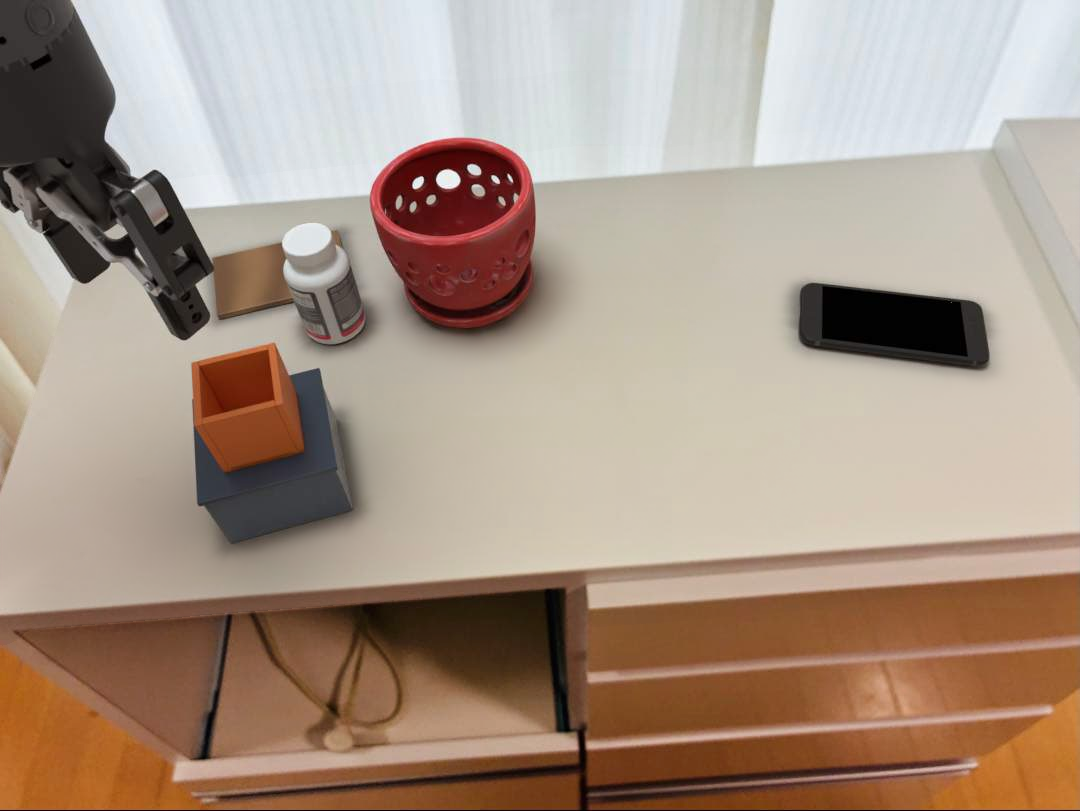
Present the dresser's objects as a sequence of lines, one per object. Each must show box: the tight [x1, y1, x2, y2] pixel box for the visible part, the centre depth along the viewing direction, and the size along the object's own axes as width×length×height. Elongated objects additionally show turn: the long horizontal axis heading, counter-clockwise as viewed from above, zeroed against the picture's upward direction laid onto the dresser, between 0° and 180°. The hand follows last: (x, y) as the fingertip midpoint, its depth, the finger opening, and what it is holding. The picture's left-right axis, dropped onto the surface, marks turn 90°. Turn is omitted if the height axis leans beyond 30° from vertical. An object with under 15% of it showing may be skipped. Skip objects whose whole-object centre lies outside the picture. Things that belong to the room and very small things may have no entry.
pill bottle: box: [281, 222, 367, 345], centre depth 69 cm, size 5×5×10 cm
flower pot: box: [369, 137, 537, 329], centre depth 70 cm, size 13×13×12 cm
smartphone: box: [798, 282, 991, 367], centre depth 69 cm, size 7×15×1 cm, turn 78°
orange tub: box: [190, 342, 306, 473], centre depth 56 cm, size 6×6×6 cm
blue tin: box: [191, 367, 354, 544], centre depth 61 cm, size 9×9×6 cm
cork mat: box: [211, 229, 343, 320], centre depth 77 cm, size 12×8×1 cm, turn 107°
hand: (142, 300), depth 47 cm, fingers open, 8 cm apart
